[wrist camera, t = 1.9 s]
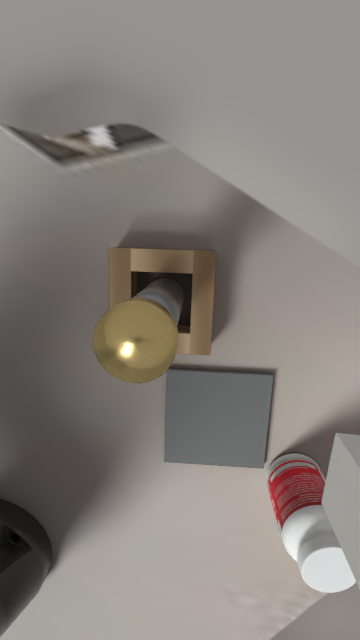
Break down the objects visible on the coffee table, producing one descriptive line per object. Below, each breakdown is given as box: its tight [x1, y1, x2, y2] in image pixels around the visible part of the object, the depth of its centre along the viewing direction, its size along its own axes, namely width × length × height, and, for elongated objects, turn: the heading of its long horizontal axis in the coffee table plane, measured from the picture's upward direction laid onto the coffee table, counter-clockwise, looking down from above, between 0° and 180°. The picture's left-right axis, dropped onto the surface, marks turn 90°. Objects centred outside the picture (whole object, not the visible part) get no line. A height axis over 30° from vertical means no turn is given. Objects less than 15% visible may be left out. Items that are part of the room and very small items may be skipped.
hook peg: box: [93, 278, 184, 383], centre depth 25 cm, size 5×5×16 cm
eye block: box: [109, 247, 216, 355], centre depth 32 cm, size 10×10×3 cm
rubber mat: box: [165, 368, 273, 469], centre depth 35 cm, size 11×11×1 cm
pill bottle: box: [266, 453, 356, 593], centre depth 31 cm, size 6×6×11 cm
